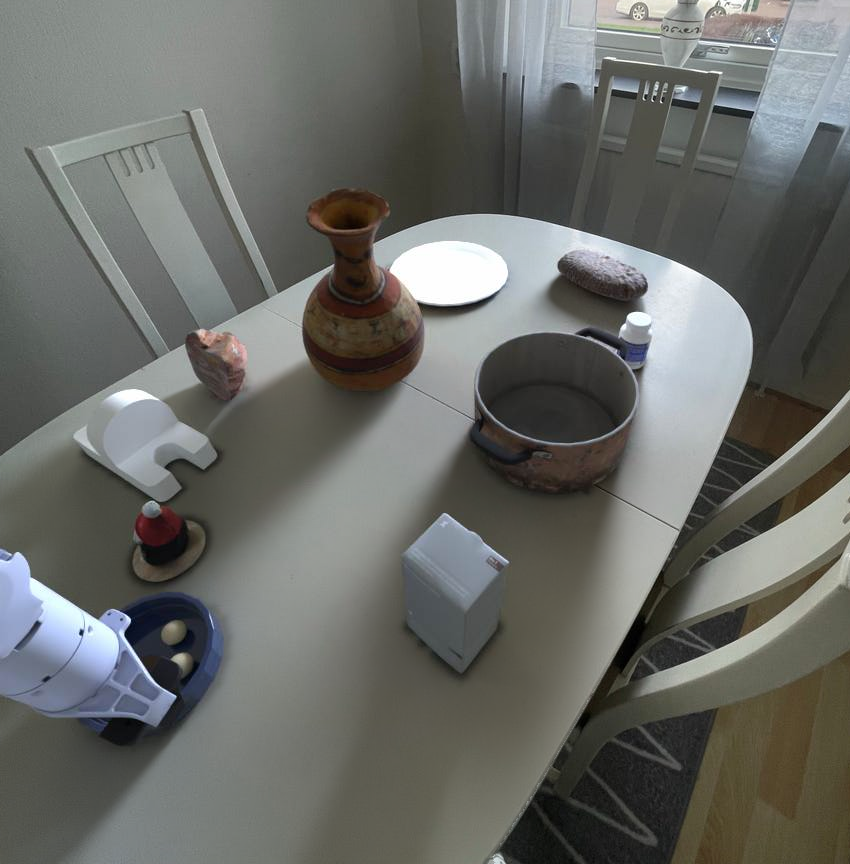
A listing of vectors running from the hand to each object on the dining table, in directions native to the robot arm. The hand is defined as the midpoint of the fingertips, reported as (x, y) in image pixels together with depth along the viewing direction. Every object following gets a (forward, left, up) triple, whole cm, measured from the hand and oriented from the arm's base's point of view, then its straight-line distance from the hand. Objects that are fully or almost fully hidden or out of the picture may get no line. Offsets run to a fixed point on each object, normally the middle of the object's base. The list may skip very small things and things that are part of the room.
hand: (138, 697), depth 44 cm
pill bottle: (+70, -32, -11) cm, 78 cm away
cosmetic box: (+18, -21, -11) cm, 30 cm away
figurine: (+14, +16, -11) cm, 24 cm away
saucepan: (+49, -23, -11) cm, 56 cm away
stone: (+42, +29, -11) cm, 52 cm away
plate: (+84, +8, -11) cm, 85 cm away
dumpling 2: (+4, +4, -9) cm, 10 cm away
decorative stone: (+92, -23, -11) cm, 96 cm away
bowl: (+3, +7, -10) cm, 13 cm away
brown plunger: (+2, +7, -10) cm, 12 cm away
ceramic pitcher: (+54, +10, -11) cm, 56 cm away
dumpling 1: (+6, +7, -9) cm, 13 cm away
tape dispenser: (+25, +30, -11) cm, 41 cm away
